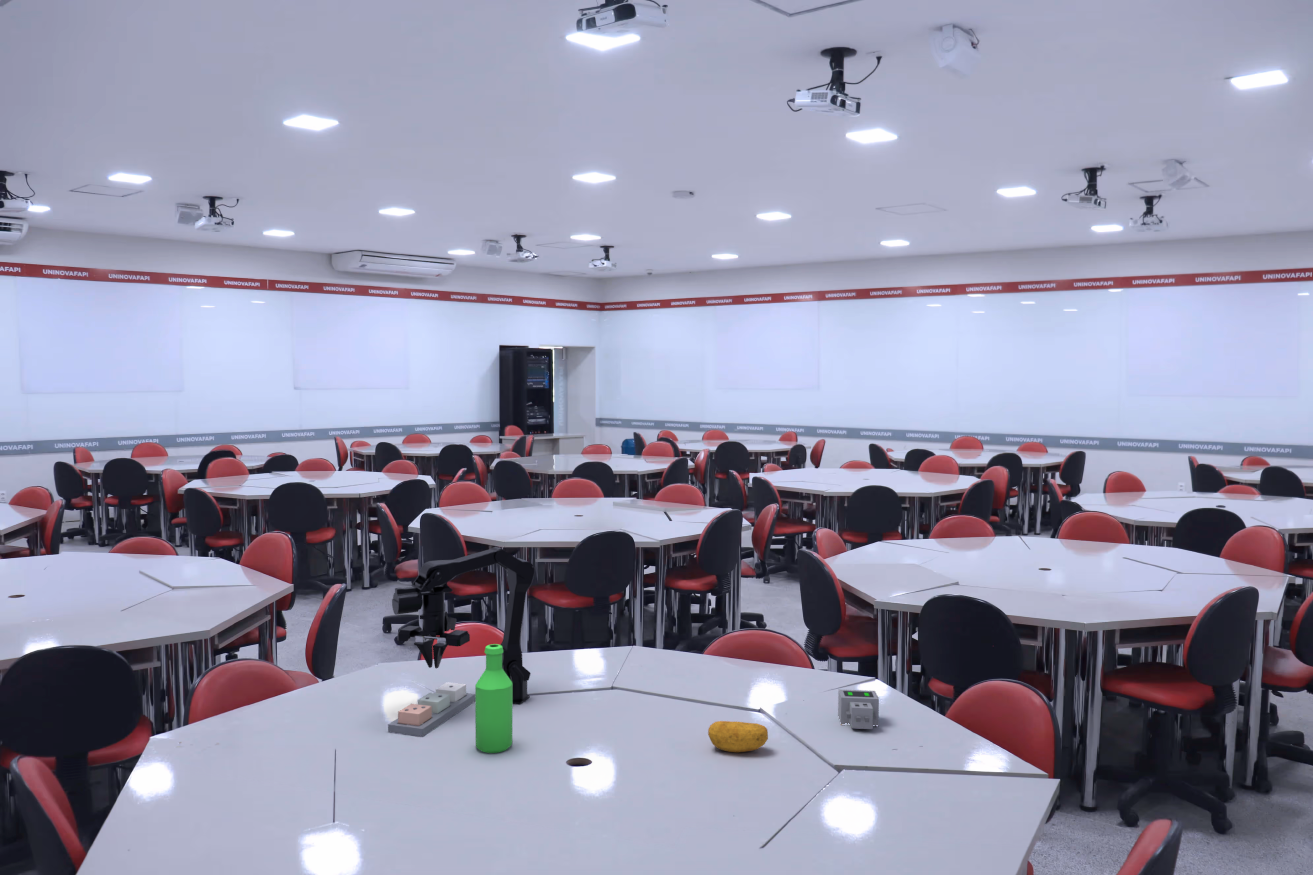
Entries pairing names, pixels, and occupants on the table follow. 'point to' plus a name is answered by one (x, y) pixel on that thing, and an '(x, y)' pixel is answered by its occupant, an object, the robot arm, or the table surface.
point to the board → (435, 720)
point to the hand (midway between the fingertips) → (433, 667)
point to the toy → (858, 708)
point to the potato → (737, 736)
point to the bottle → (493, 704)
